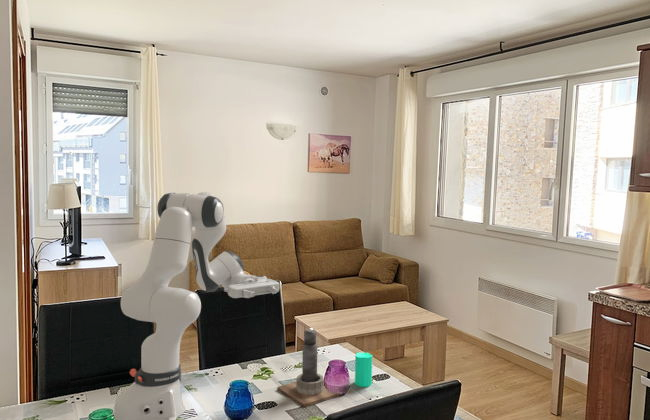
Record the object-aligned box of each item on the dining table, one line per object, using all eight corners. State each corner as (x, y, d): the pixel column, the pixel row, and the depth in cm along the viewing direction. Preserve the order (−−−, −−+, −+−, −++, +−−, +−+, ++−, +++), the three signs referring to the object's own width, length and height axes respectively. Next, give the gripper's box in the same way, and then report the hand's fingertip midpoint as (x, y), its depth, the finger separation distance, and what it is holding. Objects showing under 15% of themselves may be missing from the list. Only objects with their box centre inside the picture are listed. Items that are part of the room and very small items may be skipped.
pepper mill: (308, 393, 167) (308, 331, 166) (299, 388, 171) (299, 327, 170) (319, 389, 170) (320, 328, 169) (311, 385, 174) (311, 324, 173)
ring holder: (304, 407, 159) (304, 392, 159) (277, 389, 172) (277, 375, 172) (342, 394, 169) (343, 380, 169) (314, 379, 182) (314, 365, 182)
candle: (372, 387, 176) (373, 353, 175) (355, 386, 176) (355, 353, 175) (371, 380, 182) (372, 348, 181) (354, 379, 182) (355, 347, 181)
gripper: (221, 281, 189) (239, 287, 179) (268, 275, 202) (287, 281, 191) (221, 297, 190) (239, 305, 179) (267, 290, 202) (286, 297, 192)
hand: (264, 293), depth 185 cm, fingers open, 8 cm apart
